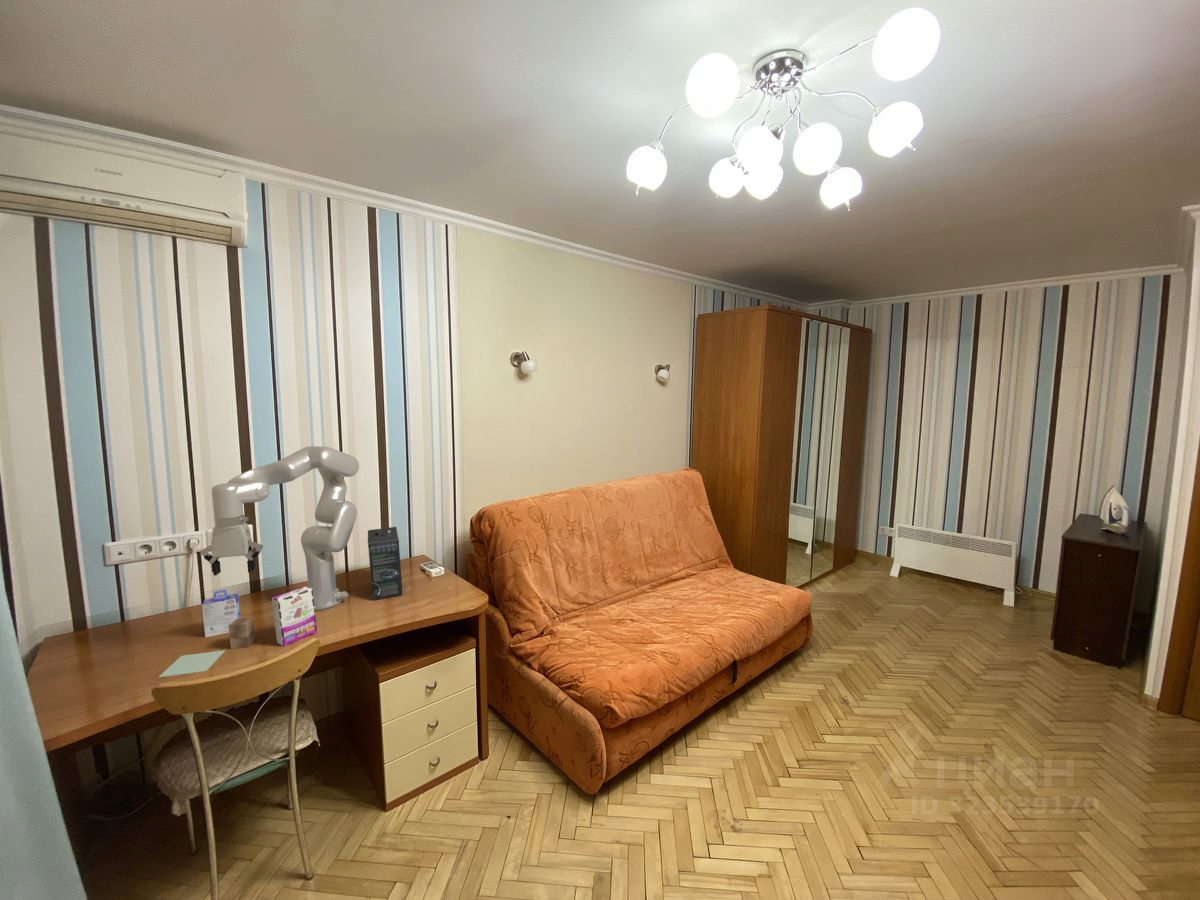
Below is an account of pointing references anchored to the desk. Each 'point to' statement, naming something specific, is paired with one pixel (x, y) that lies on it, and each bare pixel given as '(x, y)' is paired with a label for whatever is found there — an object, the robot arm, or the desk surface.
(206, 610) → the ink cartridge box
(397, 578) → the headset box
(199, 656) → the green mat
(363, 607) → the desk surface
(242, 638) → the walnut block
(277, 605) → the candy bar box
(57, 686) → the desk surface
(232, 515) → the robot arm
